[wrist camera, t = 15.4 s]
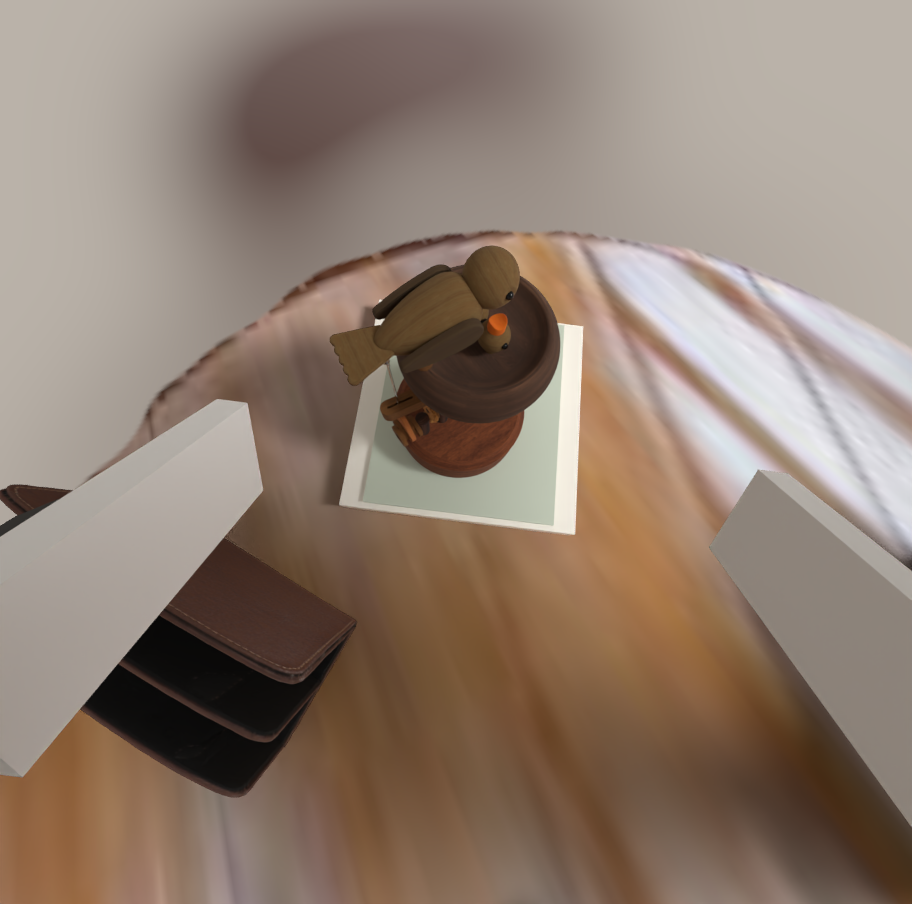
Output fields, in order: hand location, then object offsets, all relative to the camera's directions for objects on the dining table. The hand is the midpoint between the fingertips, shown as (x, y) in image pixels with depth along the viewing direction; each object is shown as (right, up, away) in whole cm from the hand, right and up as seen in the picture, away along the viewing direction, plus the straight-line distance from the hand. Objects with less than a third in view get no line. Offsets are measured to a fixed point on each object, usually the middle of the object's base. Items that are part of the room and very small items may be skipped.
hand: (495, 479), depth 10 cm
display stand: (0, +4, +26) cm, 26 cm away
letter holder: (-20, -13, +21) cm, 32 cm away
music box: (0, +4, +23) cm, 24 cm away
